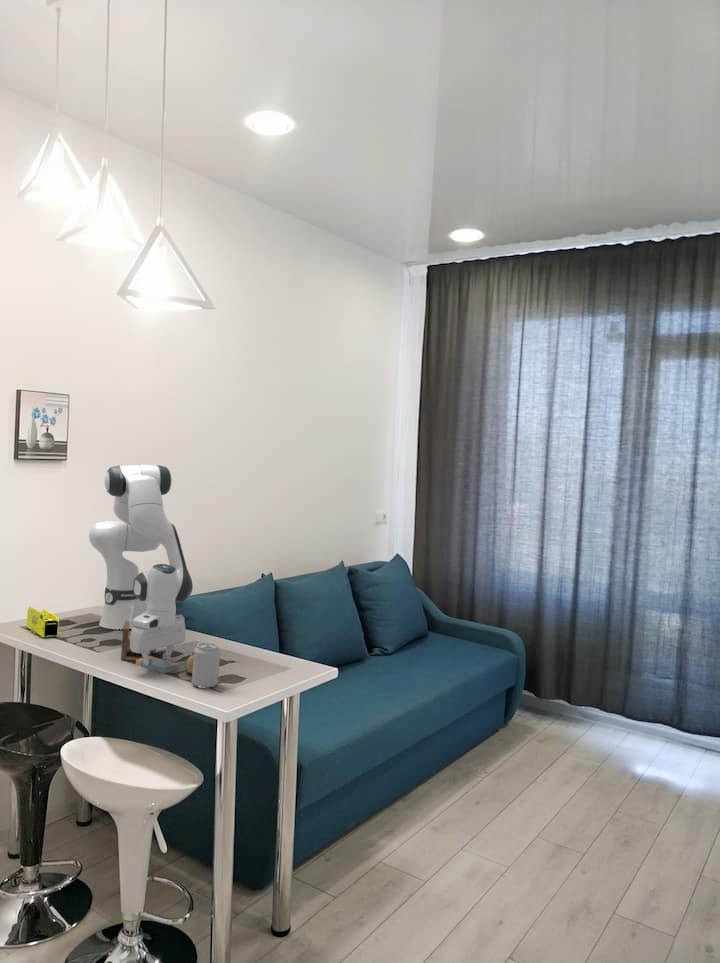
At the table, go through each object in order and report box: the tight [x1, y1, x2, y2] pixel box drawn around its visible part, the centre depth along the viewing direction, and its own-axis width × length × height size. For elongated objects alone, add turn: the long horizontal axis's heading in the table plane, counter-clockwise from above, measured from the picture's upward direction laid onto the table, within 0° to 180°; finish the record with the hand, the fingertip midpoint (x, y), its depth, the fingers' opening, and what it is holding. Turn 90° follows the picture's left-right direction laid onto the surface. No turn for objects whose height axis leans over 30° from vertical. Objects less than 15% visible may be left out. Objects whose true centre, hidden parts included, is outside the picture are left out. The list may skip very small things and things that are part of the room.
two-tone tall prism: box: [135, 655, 179, 674], centre depth 231 cm, size 12×6×2 cm, turn 59°
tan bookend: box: [120, 621, 157, 661], centre depth 242 cm, size 10×10×10 cm
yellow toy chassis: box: [26, 606, 60, 638], centre depth 260 cm, size 16×6×8 cm, turn 43°
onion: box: [185, 650, 194, 675], centre depth 229 cm, size 8×8×7 cm
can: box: [191, 642, 221, 687], centre depth 218 cm, size 8×8×12 cm
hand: (157, 662), depth 231 cm, fingers open, 6 cm apart
